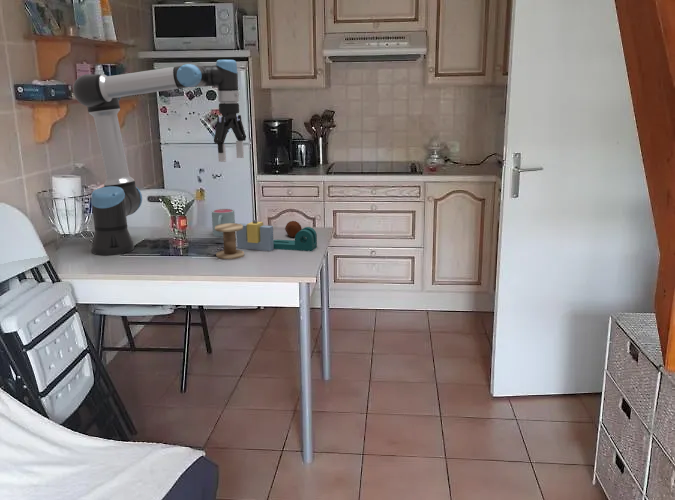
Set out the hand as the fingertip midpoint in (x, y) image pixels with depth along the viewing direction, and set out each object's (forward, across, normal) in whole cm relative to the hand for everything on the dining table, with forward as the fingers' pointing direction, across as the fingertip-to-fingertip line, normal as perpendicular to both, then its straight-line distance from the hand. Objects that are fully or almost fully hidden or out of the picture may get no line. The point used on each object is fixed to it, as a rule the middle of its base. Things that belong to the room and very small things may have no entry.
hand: (231, 159), depth 240 cm
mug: (+33, +9, +11) cm, 36 cm away
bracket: (+33, 0, -24) cm, 41 cm away
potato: (+33, +18, -17) cm, 41 cm away
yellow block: (+30, -6, -12) cm, 33 cm away
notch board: (+33, -6, -12) cm, 35 cm away
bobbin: (+33, -18, -8) cm, 38 cm away
